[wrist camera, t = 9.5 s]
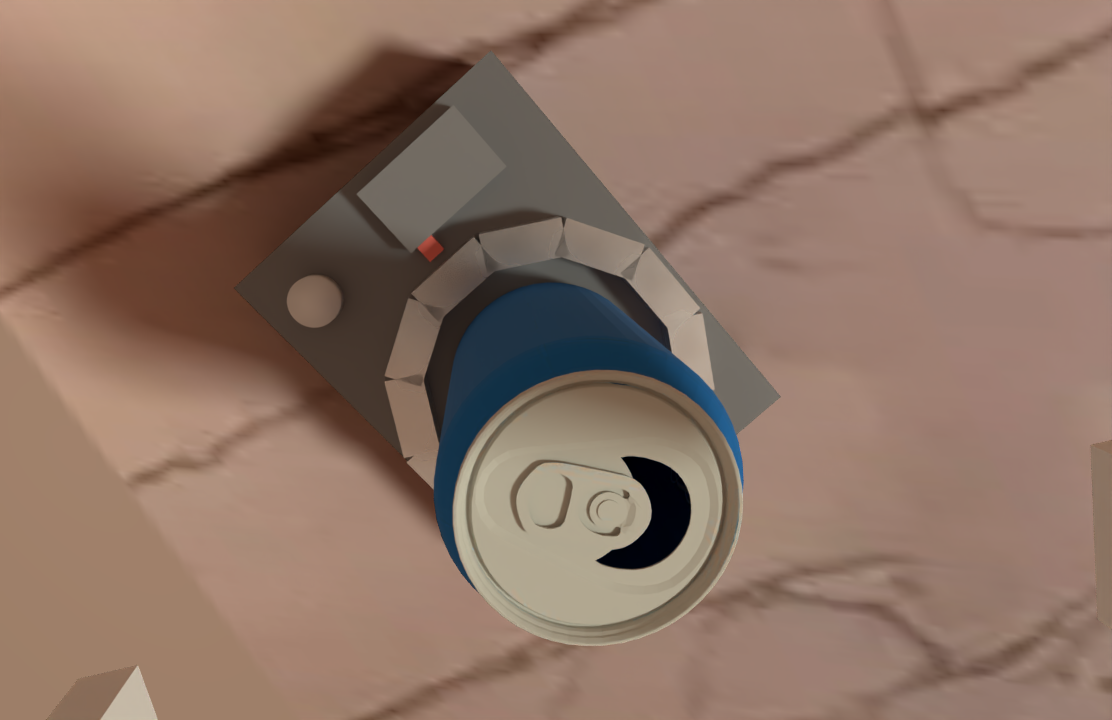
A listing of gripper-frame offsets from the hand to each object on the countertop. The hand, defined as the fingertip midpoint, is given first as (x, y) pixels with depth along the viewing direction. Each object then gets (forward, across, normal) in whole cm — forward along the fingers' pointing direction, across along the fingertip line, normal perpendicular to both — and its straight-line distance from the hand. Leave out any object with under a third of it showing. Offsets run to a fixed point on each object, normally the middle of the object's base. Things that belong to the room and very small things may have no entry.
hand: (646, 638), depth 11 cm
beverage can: (+17, 0, 0) cm, 17 cm away
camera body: (+21, -1, +1) cm, 21 cm away
